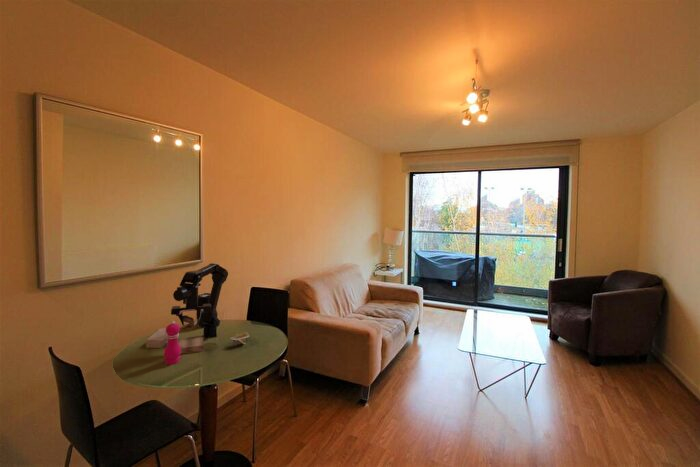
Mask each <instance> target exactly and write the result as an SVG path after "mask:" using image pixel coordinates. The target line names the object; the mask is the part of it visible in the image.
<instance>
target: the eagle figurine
mask: <svg viewBox="0 0 700 467" xmlns="http://www.w3.org/2000/svg"><path fill="white" fill-rule="evenodd" d="M199 319H200V317H199ZM199 319H197V318H196V319H194V318H193V317H191V316H188V315H183V320H184V323H186V324H184V326H183V325H182V327H181V326H180V331H183V330H185V329H189V328H191V327H194V326H195V327H196V328H199V326H198V325H199V324H198V323H199Z"/></svg>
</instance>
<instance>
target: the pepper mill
mask: <svg viewBox="0 0 700 467" xmlns="http://www.w3.org/2000/svg"><path fill="white" fill-rule="evenodd" d="M165 328H166V333H167V338H168V342H167V343H166V347H165V349H164V351H163V357H164V363H165V364H166V365H173V364H174V365H175V364H178V363H179V362H180V361H181V357H180V355H181V348H180V346H179V344H178V340H179V335H180V333H179V332H180V331H181V330H180V328H181V326H180V325H179V324H178V323H176V321H175V320H172V321H170V324H167V326H166V327H165Z"/></svg>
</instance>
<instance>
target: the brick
mask: <svg viewBox="0 0 700 467" xmlns="http://www.w3.org/2000/svg"><path fill="white" fill-rule="evenodd" d="M167 343H168V338H167V333H166V327H165V328H164V327H163V328H161V327H160V328H159V329H157V330H156V332H155V333H153V334H152V335H151V336H149V337H148V338H147V339H146V345H145V347H146V348H147V349H148V348H149V349H150V348H156V349H159V348H160V349H162V348H163V347H165V345H167Z"/></svg>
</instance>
